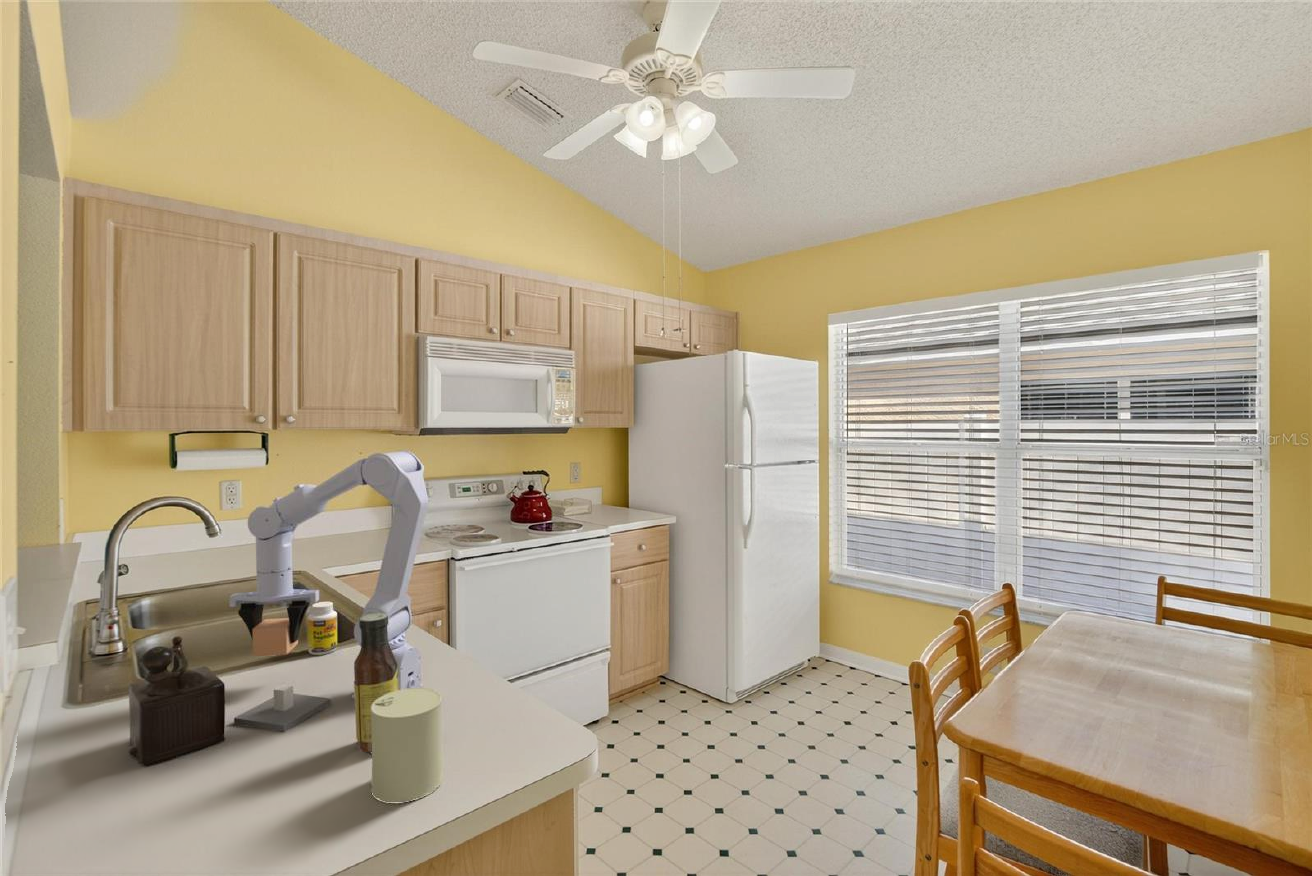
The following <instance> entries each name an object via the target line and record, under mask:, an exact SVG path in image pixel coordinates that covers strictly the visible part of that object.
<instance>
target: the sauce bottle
mask: <svg viewBox="0 0 1312 876" xmlns="http://www.w3.org/2000/svg"><path fill="white" fill-rule="evenodd" d="M358 620H359V627H360V629H361V641H362V642H361V646H360V651H359V653H358V655H357V656H356V658H355V660H354V663H353V664H354V665H353V671H354V672H353V673H354V681H353V689H354V693H353V694H355V699H354V708H355V709H354V711H355V713H354V714H355V734H356V735H355V736H356V741H357V742H356V744H357V747H358V749H359V751H361V750H362V751H361V752H363V753H367V752H369V753H370V752H372V727H371V711H370V708H371V705H372V703H373V702H374V701H375V700H377V699H378V698H380V697H381V696H383V695H386V694H388V693H391V692H394V691H398V690H399V684H398V665H397V662H396V660H395V657H394V655H393V653H392V650H391V648H390V645H389V643H388V633H387V625H388V616H387V614H384V613H376V614H369V615H365V616H363V617H361V616H360V618H359V619H358Z"/></svg>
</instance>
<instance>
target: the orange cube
mask: <svg viewBox="0 0 1312 876" xmlns="http://www.w3.org/2000/svg"><path fill="white" fill-rule="evenodd" d="M298 644H299V639H298V640H297V641H296V642H295V643H290V624H289V617H287V618H286V617H283V618H282V617H280V618H265V619H264V620H262V622H261V623H260V624H258V625H257V626H256V627H254V628H253V641H252V656H253V657H266V656H277V655H279V656H280V655H288V654H289V653H290V652H291V651H292V650H293V649H294V648H295V647H296V646H297V645H298Z"/></svg>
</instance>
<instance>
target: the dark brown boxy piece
mask: <svg viewBox="0 0 1312 876" xmlns="http://www.w3.org/2000/svg"><path fill="white" fill-rule="evenodd" d="M171 642H172V646H171V647H169V646H153V647H152V648H149V649H147V650H145V651H144V652H143V653H142V656H141V658H140V659H139V665H140V667H142V668H143V669H144V670H145V672H146V675H145V677H144V680H141V681H137V682H133V683H130V684H129V687H128V706H129V709H128V710H129V742H128V744H129V747H128V752H129V755H131V756H132V757H133V758H134V759H136V760H137V762H138V763H139V764H141V765H142V766H144V767H147V766H152V765H155V764H160V763H164V762H168V761H172V760H173V759H177V758H180V757H183V756H187V755H189V754H192V753H193V754H194V753H195V752H198V751H202V750H206V749H208V748H211V747H213V746H216V745H218V744H220V743H223V742H225V740H226V738H225V727H226V726H225V725H226V723H225V722H226V707H225V706H226V700H225V699H226V696H225V695H226V690H225V689H226V688H225V687H226V686H225V683H224V681H222V680H221V679H220V678H219V677H218V676H217V675H216V674H215V673H214V672H213V671H212V670H211V669H210V668H209V667H208V666H206V665H205V666H201V667H196V668H195V667H194V668H192V669H191V668H188V667H189V663H188V660H187V657H186V655H185V652H184V651H183V650H184V648H183V644H182V642H183V638H182V637H181V636H174V637H173V638H172V639H171ZM171 664H172V669H168V667H169V666H170V665H171Z"/></svg>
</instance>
